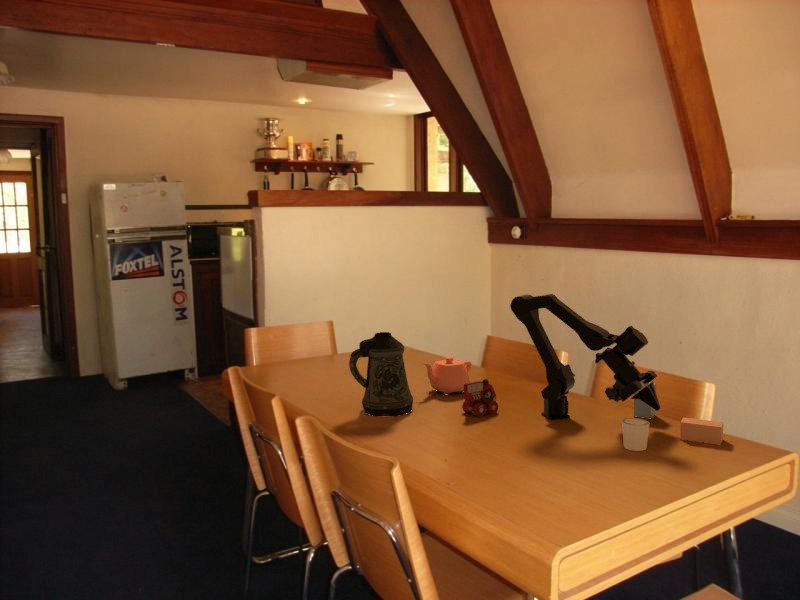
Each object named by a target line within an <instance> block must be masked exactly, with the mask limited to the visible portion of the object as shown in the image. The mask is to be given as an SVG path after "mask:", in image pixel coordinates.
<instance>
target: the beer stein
mask: <svg viewBox="0 0 800 600" xmlns="http://www.w3.org/2000/svg"><path fill="white" fill-rule="evenodd" d="M358 346H359V347H358V348H357V349H355V350H353V351H352V352H351V353H350V358H349V361H348V367H349V371H350V372H351V373H350V374H351V376H353V378H354V379H355V381H356V382H357V383H359V385H360V386H362V387H363V388H364V389H365V391H364V394H363V397H362V399H361V400H362V401H361V404H362V408H363V412H364V413H365V414H366V413H367V415H368V414H370V415H369V416H372V415H373V417H378V416H394V417H399V416H398V415H401V416H404V415H403V414H405V415H407V414H406V413H408V414H410V413H411V412H412V411H413V404H414V397H413V394H412V392H411V389H410V385H409V383H408V378H407V372H406V366H405V361H404V352H405V345H403V343H402V342H400V341H399V340H398V339H396V338H395V337H394V336H392V333H391V332H388V331H382V332H381V331H380V332H375V333H374V336H372V337H370V338H368V339H364V340H363V339H362V340H361V341H360V342H359V345H358ZM361 358H367V359H368V360H367V361H368V362H367V368H366V369H367V370H366V378H365V377H364V376H363V375H362V373H360V371H359V368H358V366H357V363H358V360H359V359H361ZM411 410H412V411H411ZM410 411H411V412H410ZM409 412H410V413H409Z"/></svg>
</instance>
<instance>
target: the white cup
mask: <svg viewBox="0 0 800 600" xmlns="http://www.w3.org/2000/svg"><path fill="white" fill-rule="evenodd" d="M650 425H651V424H650V422H649V421H648V419H643V418H636V417H629V418H627V417H626V418H624V419H622V420H621V426H622V427H621V428H622V438H623V439H622V440H623V441H622V442H623V448H624V449H626V450H629V451H634V452H636V451H637V452H639V451H640V452H641V451H645V450H646V449H647V447H648V441H649V440H648V439H649V431H650Z"/></svg>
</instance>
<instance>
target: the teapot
mask: <svg viewBox="0 0 800 600" xmlns="http://www.w3.org/2000/svg"><path fill="white" fill-rule="evenodd" d="M422 365H424V366H425V367H426V373H427V379H428V380H429V384H430V385H431V387H432V388H433V389H434V391H435V390H437V391H440V392H443V395H444V394H450V393H458V392H463V391H464V384H465V383H470V381H471V380H470V376H469V373H470V370H471V368H472V362H471V361H470V360H465V361H460V360H456V359H454V357H452V356H447V357H445V359H443V360H436V361H435V362H434V364H433V365H432V366H431V364H430V363H428V362H422Z"/></svg>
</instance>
